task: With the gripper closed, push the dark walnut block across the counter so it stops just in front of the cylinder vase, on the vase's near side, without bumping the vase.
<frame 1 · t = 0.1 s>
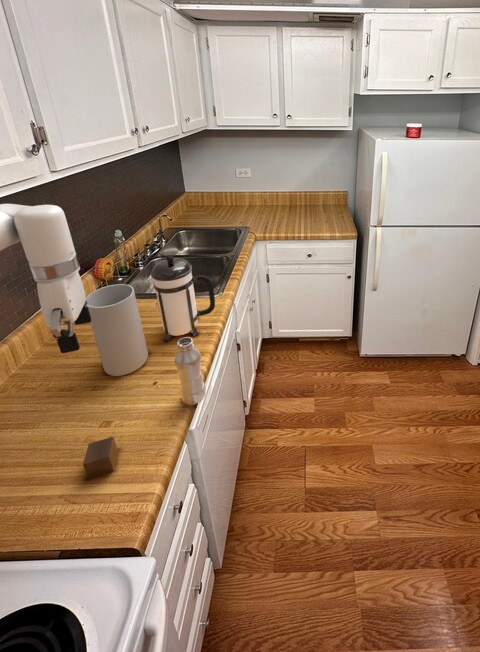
hand: (77, 336, 73), 30 cm above the counter, tool pointing down, fingers open, 9 cm apart
cylinder vase: (127, 362, 106), on the counter
plastic bottle: (194, 399, 93), on the counter
coffee press: (185, 328, 122), on the counter
walnut block: (103, 464, 76), on the counter
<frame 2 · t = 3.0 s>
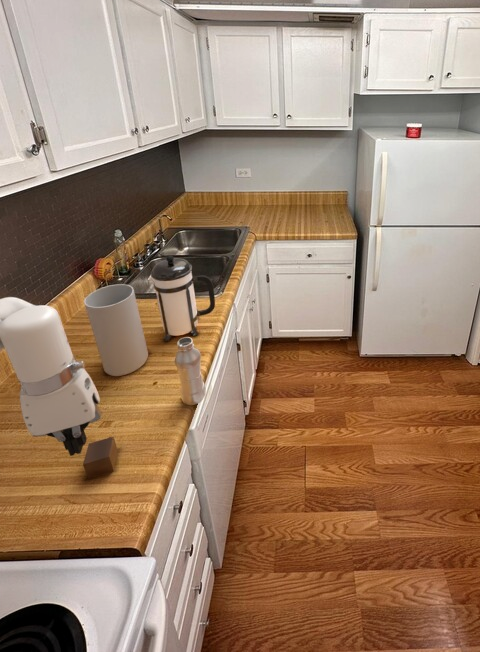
hand: (77, 447, 64), 16 cm above the counter, tool pointing down, fingers closed
nothing on the counter moved.
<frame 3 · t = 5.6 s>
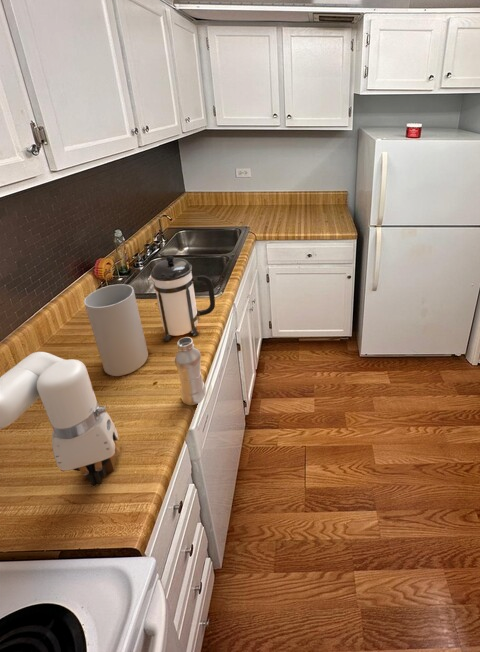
hand: (98, 478, 72), 1 cm above the counter, tool pointing down, fingers closed
walnut block: (104, 464, 76), on the counter, touching gripper
everything else where it was.
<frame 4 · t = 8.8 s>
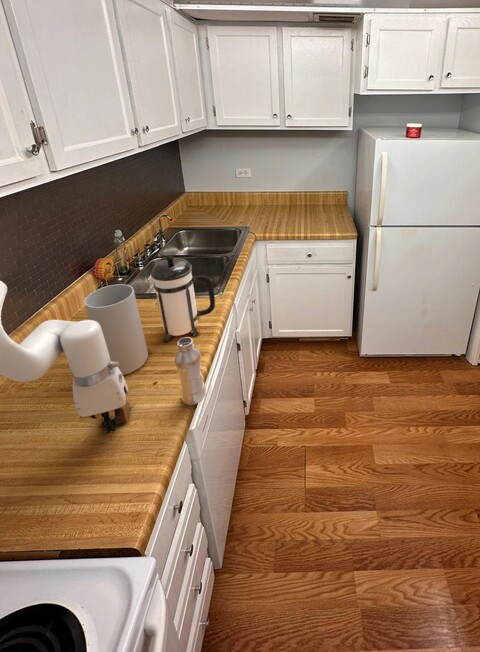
hand: (112, 427, 83), 2 cm above the counter, tool pointing down, fingers closed
walnut block: (117, 417, 87), on the counter, touching gripper
everything else where it was.
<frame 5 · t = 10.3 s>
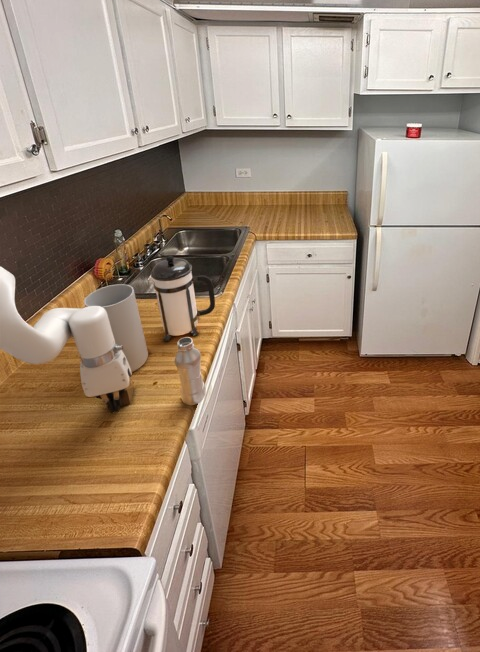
hand: (116, 407, 88), 1 cm above the counter, tool pointing down, fingers closed
walnut block: (122, 399, 93), on the counter, touching gripper
everything else where it was.
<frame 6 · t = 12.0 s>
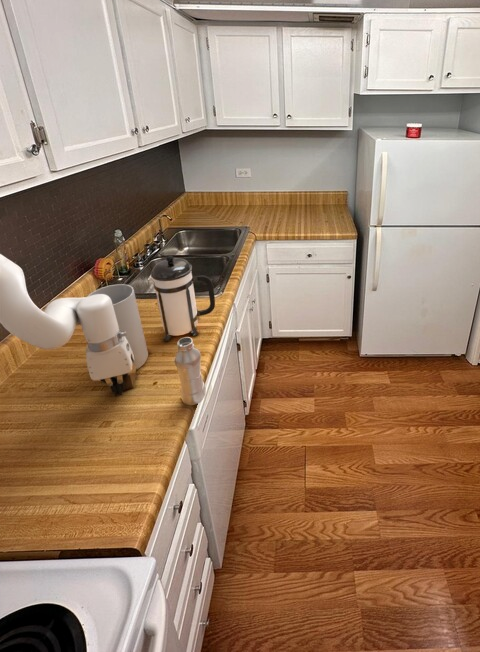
hand: (119, 391, 93), 1 cm above the counter, tool pointing down, fingers closed
walnut block: (125, 383, 98), on the counter, touching gripper
everything else where it was.
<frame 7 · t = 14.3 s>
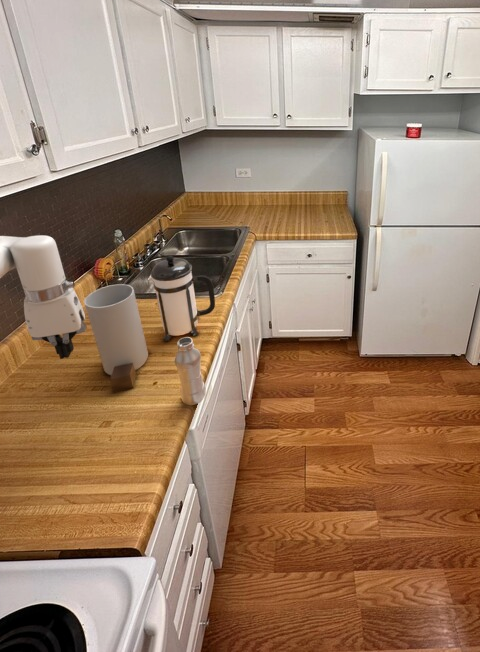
hand: (66, 354, 81), 20 cm above the counter, tool pointing down, fingers closed
walnut block: (125, 383, 98), on the counter
everything else where it was.
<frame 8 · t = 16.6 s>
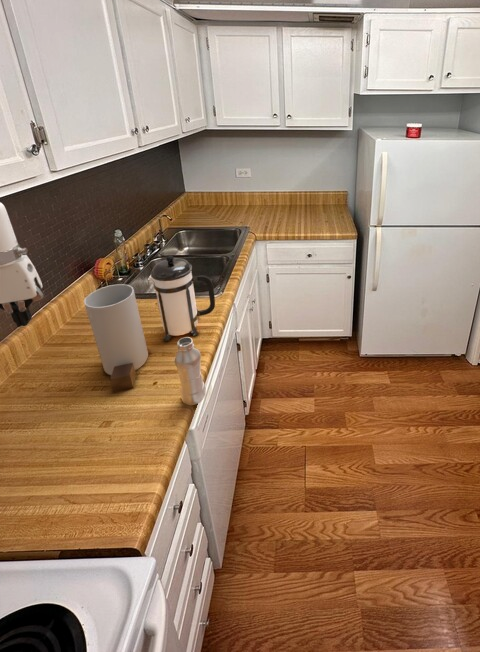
hand: (24, 323, 81), 27 cm above the counter, tool pointing down, fingers closed
nothing on the counter moved.
at the end: walnut block 1.3 cm from the target spot on the counter beside the cylinder vase, on the counter; cylinder vase moved 0.2 cm from its start; walnut block tilted 0° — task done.
